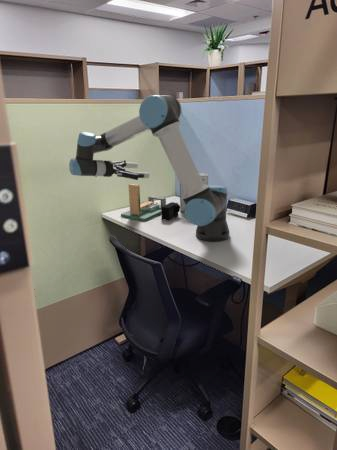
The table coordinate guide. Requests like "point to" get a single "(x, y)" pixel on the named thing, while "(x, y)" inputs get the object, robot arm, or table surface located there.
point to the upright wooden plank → (136, 200)
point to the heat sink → (151, 207)
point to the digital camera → (170, 211)
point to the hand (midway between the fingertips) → (143, 170)
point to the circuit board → (143, 215)
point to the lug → (151, 199)
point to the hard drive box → (182, 203)
